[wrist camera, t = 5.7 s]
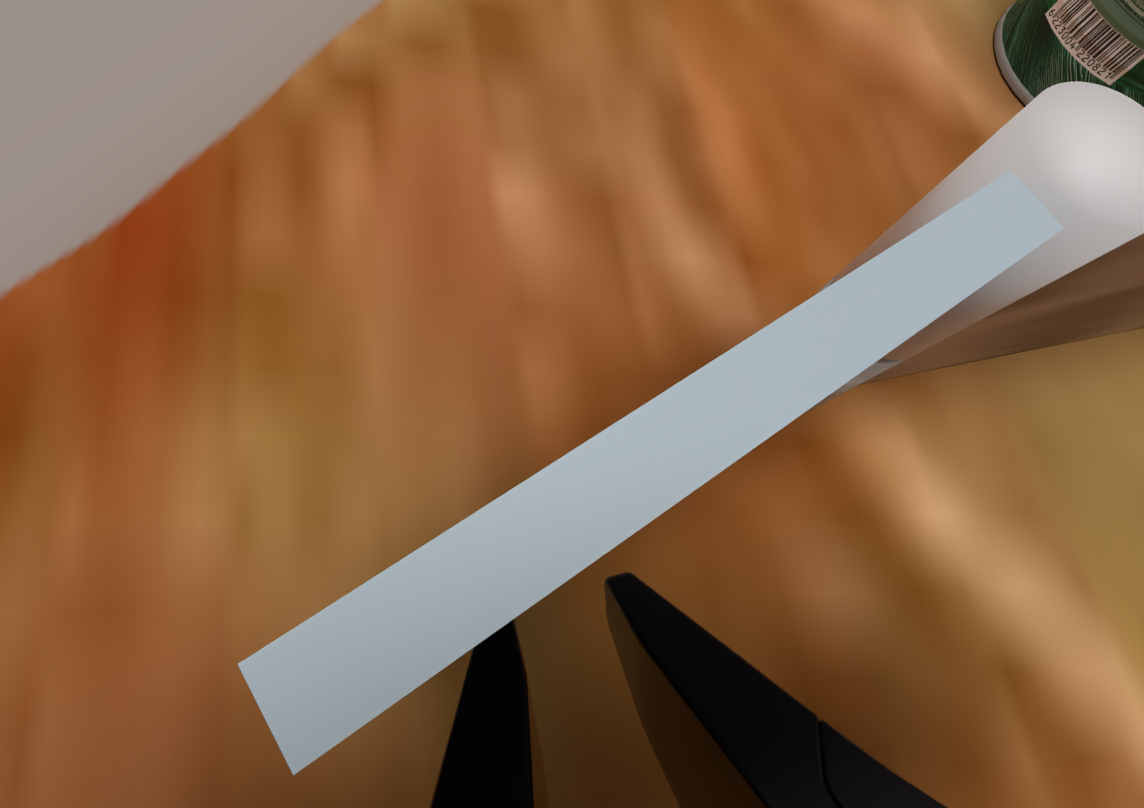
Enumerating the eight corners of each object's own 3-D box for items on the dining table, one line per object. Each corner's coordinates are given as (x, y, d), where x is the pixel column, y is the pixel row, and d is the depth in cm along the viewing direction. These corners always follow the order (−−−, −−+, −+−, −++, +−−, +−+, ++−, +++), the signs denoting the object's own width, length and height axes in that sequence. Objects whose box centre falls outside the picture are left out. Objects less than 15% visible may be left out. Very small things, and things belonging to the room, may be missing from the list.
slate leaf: (781, 331, 17) (1096, 58, 8) (830, 394, 17) (1220, 180, 8) (396, 580, 14) (199, 590, 5) (446, 667, 14) (334, 857, 4)
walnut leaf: (749, 429, 17) (1077, 237, 7) (725, 355, 17) (999, 88, 8) (1186, 339, 20) (1823, 119, 10) (1152, 278, 20) (1724, 18, 11)
